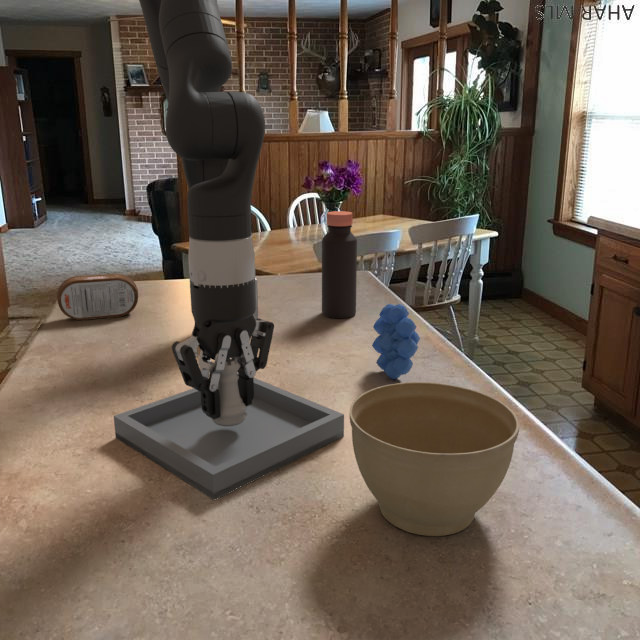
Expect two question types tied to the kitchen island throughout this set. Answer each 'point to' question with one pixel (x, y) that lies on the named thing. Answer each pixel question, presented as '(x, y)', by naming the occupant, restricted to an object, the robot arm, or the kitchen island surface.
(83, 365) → the kitchen island surface
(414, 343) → the grapes
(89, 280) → the tin
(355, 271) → the bottle
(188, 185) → the robot arm
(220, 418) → the rook chess piece
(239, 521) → the kitchen island surface
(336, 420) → the tray
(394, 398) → the planter bowl
